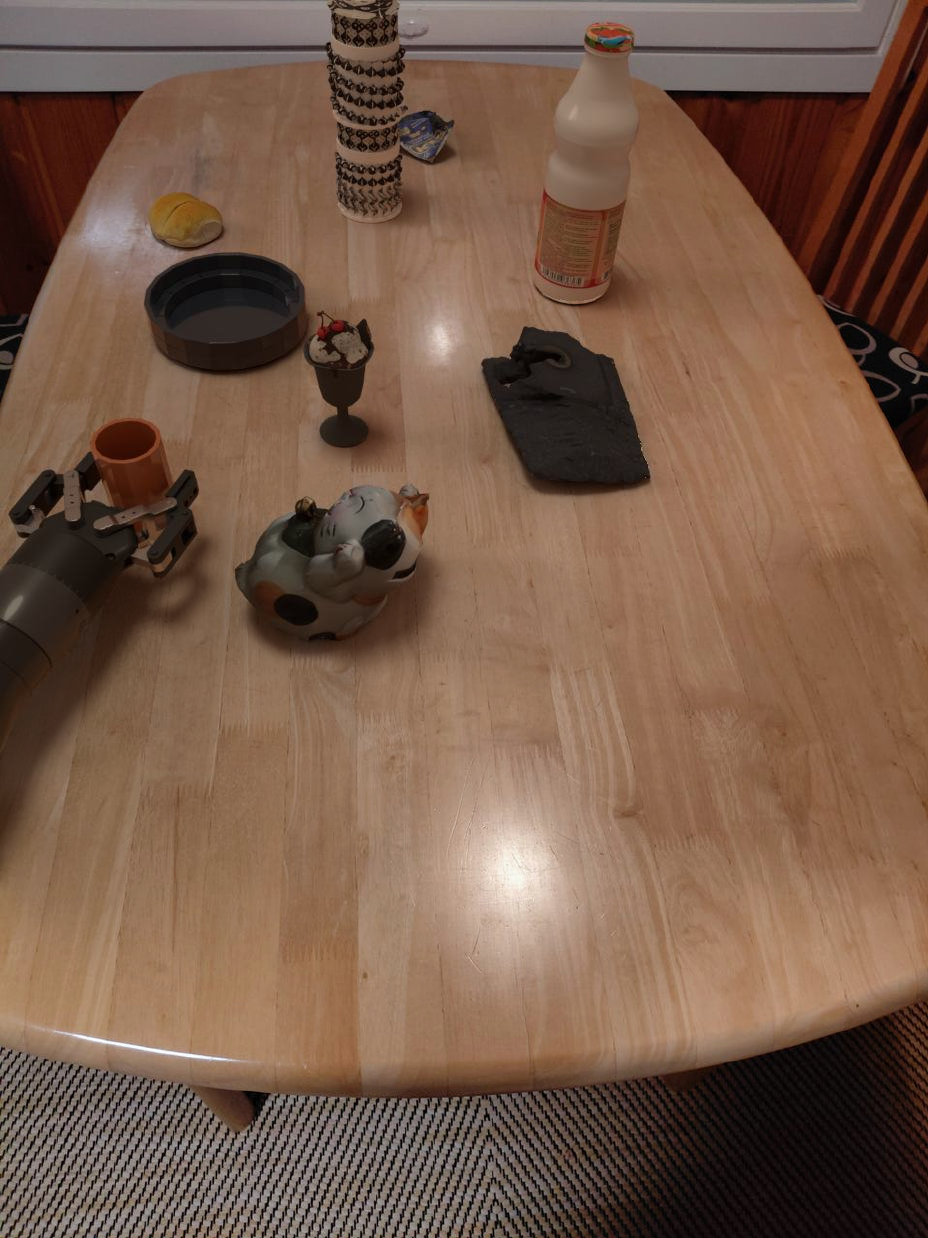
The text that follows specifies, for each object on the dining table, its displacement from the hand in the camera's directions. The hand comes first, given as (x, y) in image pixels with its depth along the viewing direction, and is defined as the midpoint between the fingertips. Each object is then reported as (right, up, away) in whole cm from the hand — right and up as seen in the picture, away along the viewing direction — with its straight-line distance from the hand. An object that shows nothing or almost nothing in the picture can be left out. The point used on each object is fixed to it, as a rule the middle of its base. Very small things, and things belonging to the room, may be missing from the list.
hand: (149, 465), depth 82 cm
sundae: (+15, +6, +14) cm, 21 cm away
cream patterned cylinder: (+15, +41, +41) cm, 60 cm away
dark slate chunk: (+38, +7, +17) cm, 42 cm away
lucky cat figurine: (+17, -11, +1) cm, 20 cm away
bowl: (+1, +20, +24) cm, 31 cm away
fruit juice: (+41, +27, +32) cm, 59 cm away
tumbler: (-1, -5, +4) cm, 7 cm away
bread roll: (-7, +35, +35) cm, 50 cm away
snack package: (+20, +55, +53) cm, 79 cm away
